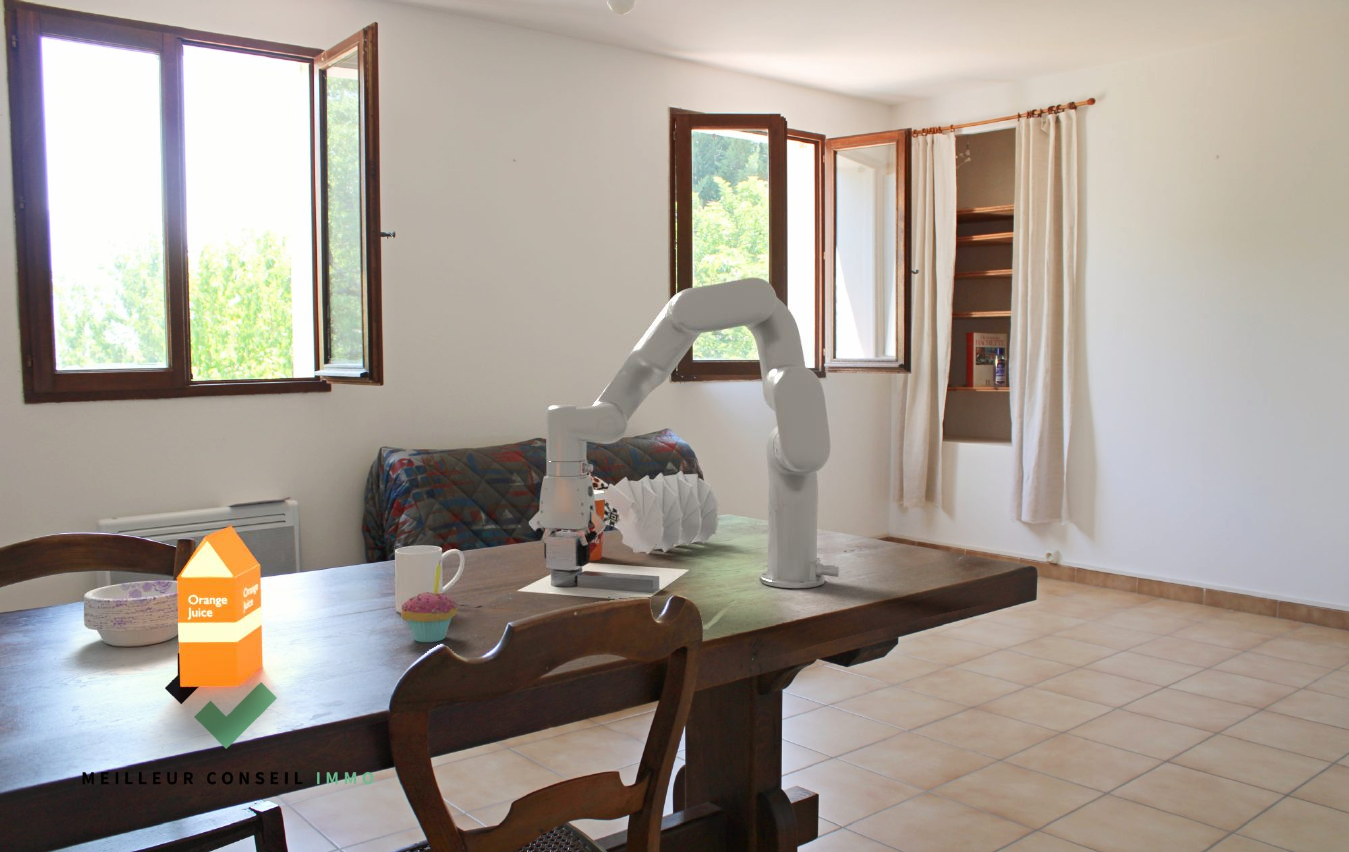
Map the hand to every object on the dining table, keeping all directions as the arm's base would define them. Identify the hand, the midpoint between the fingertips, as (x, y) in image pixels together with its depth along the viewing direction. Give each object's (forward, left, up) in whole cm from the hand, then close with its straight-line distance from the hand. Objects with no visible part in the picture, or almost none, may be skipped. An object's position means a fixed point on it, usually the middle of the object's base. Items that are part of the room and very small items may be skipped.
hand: (567, 563), depth 190 cm
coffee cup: (+6, -25, -5) cm, 26 cm away
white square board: (-6, -6, -5) cm, 10 cm away
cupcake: (+6, +39, -5) cm, 40 cm away
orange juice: (+23, +64, -5) cm, 68 cm away
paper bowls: (+48, +53, -5) cm, 72 cm away
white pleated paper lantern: (-6, -43, -5) cm, 44 cm away
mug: (+16, +22, -5) cm, 28 cm away
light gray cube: (0, 0, -1) cm, 1 cm away
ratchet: (-7, 0, -4) cm, 8 cm away
